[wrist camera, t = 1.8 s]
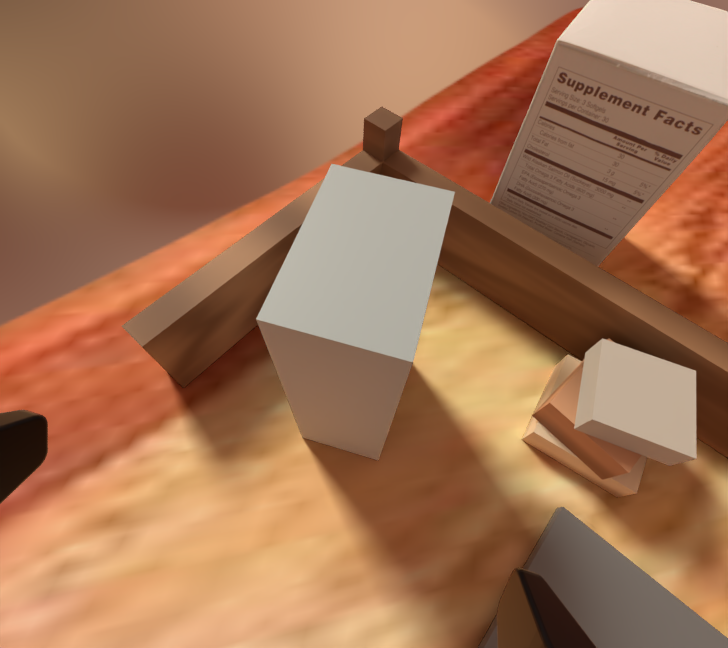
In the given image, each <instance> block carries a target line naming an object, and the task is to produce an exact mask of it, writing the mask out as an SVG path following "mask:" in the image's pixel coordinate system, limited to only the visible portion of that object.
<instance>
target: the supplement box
mask: <svg viewBox="0 0 728 648" xmlns="http://www.w3.org/2000/svg"><path fill="white" fill-rule="evenodd" d="M727 120H728V11H724V10H721V9H718V8H714V7H711V6H707V5H704V4H700V3H697V2H693V1H690V0H590V1H589V2H588V3H587V5H586V6H585V7H584V8H583V9H582V10H581V12H580V13H579V14H578V15H577V16H576V18H575V19H574V20H573V21H572V22H571V24H570V25H569V26H568V27H567V29H566V30H565V31H564V32H563V33H562V35H561V36H560V37H559V38H558V39H557V41H556V43H555V46H554V49H553V51H552V54H551V56H550V58H549V61H548V63H547V66H546V68H545V71H544V73H543V75H542V78H541V80H540V83H539V85H538V88H537V90H536V93H535V95H534V97H533V100H532V102H531V105H530V107H529V110H528V112H527V114H526V117H525V119H524V121H523V124H522V126H521V129H520V131H519V133H518V136H517V138H516V140H515V143H514V145H513V148H512V150H511V152H510V155H509V157H508V160H507V162H506V165H505V167H504V170H503V172H502V175H501V177H500V180H499V182H498V184H497V187H496V189H495V192H494V194H493V197H492V199H491V202H490V204H492V205H494V206H495V207H497V208H499V209H500V210H502V211H504V212H506V213H507V214H509V215H511V216H512V217H514V218H516V219H517V220H519V221H521V222H523V223H524V224H526V225H528V226H529V227H531V228H533V229H534V230H536V231H538V232H540V233H541V234H543V235H545V236H546V237H548V238H550V239H552V240H553V241H555V242H557V243H558V244H560V245H562V246H563V247H565V248H567V249H569V250H570V251H572V252H574V253H575V254H577V255H579V256H580V257H582V258H584V259H586V260H587V261H589V262H591V263H592V264H594V265H596V266H597V267H598V266H599V265H600V264H601V263H602V261H603V260H604V259H605V258H606V257H607V256H608V255H609V254H610V252H611V251H612V250H613V249H614V248H615V247H616V246H617V245H618V243H619V242H620V241H621V240H622V239H623V238H624V237H625V236H626V235H627V233H628V232H629V231H630V230H631V229H632V228H633V227H634V226H635V225H636V223H637V222H638V221H639V220H640V219H641V218H642V217H643V216H644V214H645V213H646V212H647V211H648V210H649V209H650V208H651V207H652V205H653V204H654V203H655V202H656V201H657V200H658V199H659V198H660V197H661V195H662V194H663V193H664V192H665V191H666V190H667V189H668V188H669V187H670V185H671V184H672V183H673V182H674V181H675V180H676V179H677V178H678V177H679V175H680V174H681V173H682V172H683V171H684V170H685V169H686V167H687V166H688V165H689V164H690V163H691V162H692V161H693V160H694V158H695V157H696V156H697V155H698V154H699V153H700V152H701V151H702V149H703V148H704V147H705V146H706V145H707V144H708V143H709V141H710V140H711V139H712V138H713V137H714V136H715V134H716V133H717V132H718V131H719V130H720V128H721V127H722V126H723V125H724V124H725V123H726V121H727Z"/></svg>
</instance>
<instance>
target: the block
mask: <svg viewBox="0 0 728 648" xmlns="http://www.w3.org/2000/svg"><path fill="white" fill-rule="evenodd" d="M454 194H455V192H454V191H449V190H445V189H440V188H436V187H432V186H427V185H423V184H418V183H414V182H410V181H405V180H401V179H396V178H392V177H387V176H383V175H379V174H374V173H370V172H365V171H361V170H357V169H352V168H348V167H343V166H339V165H335V164H331V166H330V168H329V171H328V173H327V175H326V177H325V179H324V181H323V183H322V185H321V187H320V189H319V191H318V193H317V195H316V197H315V199H314V201H313V203H312V205H311V207H310V210H309V212H308V214H307V216H306V218H305V220H304V222H303V224H302V226H301V228H300V230H299V232H298V234H297V236H296V238H295V240H294V242H293V244H292V246H291V248H290V251H289V253H288V255H287V257H286V259H285V261H284V263H283V265H282V267H281V269H280V271H279V273H278V275H277V277H276V279H275V281H274V283H273V285H272V287H271V290H270V292H269V294H268V296H267V298H266V300H265V302H264V304H263V306H262V308H261V310H260V312H259V314H258V316H257V318H256V321H257V323H258V326H259V328H260V331H261V333H262V336H263V338H264V341H265V344H266V346H267V349H268V351H269V354H270V356H271V359H272V361H273V364H274V366H275V369H276V372H277V374H278V377H279V379H280V382H281V384H282V387H283V389H284V392H285V394H286V397H287V400H288V402H289V405H290V407H291V410H292V412H293V415H294V417H295V420H296V423H297V425H298V428H299V430H300V433H301V435H302V438H306V439H309V440H312V441H316V442H319V443H322V444H325V445H329V446H332V447H335V448H339V449H342V450H345V451H349V452H352V453H355V454H358V455H362V456H365V457H368V458H372V459H375V460H379V458H380V455H381V452H382V449H383V446H384V443H385V441H386V438H387V435H388V432H389V429H390V426H391V423H392V421H393V418H394V415H395V412H396V409H397V406H398V404H399V401H400V398H401V395H402V392H403V389H404V386H405V384H406V381H407V378H408V375H409V372H410V369H411V367H412V364H413V360H414V356H415V352H416V348H417V344H418V340H419V336H420V332H421V328H422V324H423V320H424V316H425V312H426V307H427V303H428V299H429V295H430V291H431V287H432V283H433V279H434V275H435V271H436V267H437V263H438V259H439V255H440V251H441V247H442V243H443V238H444V234H445V230H446V226H447V222H448V218H449V214H450V210H451V206H452V202H453V198H454Z"/></svg>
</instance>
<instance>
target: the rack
mask: <svg viewBox="0 0 728 648" xmlns="http://www.w3.org/2000/svg"><path fill="white" fill-rule="evenodd" d="M402 120H403V118H401V117H400V116H398V115H396V114H394V113H392V112H391V111H389V110H387V109H385V108H383V107H380V108H379V109H378V110H376V111H375V112H373V113H372V114H370V115H369V116H367V117H366V118H364V137H363V151H361V152H360V153H358V154H357V155H356V156H354V157H353V158H352V159H350V160H349V161H347V162H346V163H345V164H343V165H342V166H343V167H348V168H352V169H357V170H361V171H365V172H370V173H374V174H379V175H383V176H387V177H392V178H396V179H401V180H405V181H410V182H414V183H418V184H423V185H427V186H432V187H436V188H440V189H445V190H449V191H454V192H455V194H454V198H453V202H452V206H451V210H450V214H449V218H448V222H447V226H446V230H445V234H444V238H443V243H442V247H441V251H440V255H439V259H438V263H437V264H439V265H440V266H442V267H443V268H445V269H446V270H448V271H449V272H451V273H452V274H454V275H455V276H457V277H458V278H460V279H461V280H462V281H464V282H465V283H467V284H468V285H470V286H471V287H473V288H474V289H476V290H477V291H479V292H480V293H482V294H483V295H485V296H486V297H488V298H489V299H491V300H492V301H494V302H495V303H497V304H498V305H500V306H501V307H503V308H504V309H506V310H507V311H509V312H510V313H512V314H513V315H515V316H516V317H518V318H519V319H521V320H522V321H524V322H525V323H527V324H528V325H530V326H531V327H533V328H534V329H536V330H537V331H539V332H540V333H542V334H543V335H545V336H546V337H548V338H549V339H551V340H552V341H554V342H555V343H557V344H558V345H560V346H561V347H562V348H564V349H565V350H567V351H568V352H570V353H571V354H573V355H574V356H576V357H577V358H579V359H580V360H582V361H583V360H584V358H585V353H586V352H587V351H588V350H589V349H590V348H592V347H593V346H594V345H595V344H596V343H598V342H599V341H600V340H601V339H602V338H603V339H606V340H607V339H608V338H609V339H611V340H612V341H613V342H615V343H617V344H620V345H623V346H626V347H629V348H632V349H634V350H637V351H640V352H643V353H646V354H649V355H652V356H655V357H658V358H660V359H663V360H666V361H669V362H672V363H675V364H678V365H681V366H683V367H686V368H689V369H692V370H695V371H696V437H697V438H698V439H700V440H701V441H703V442H704V443H706V444H707V445H709V446H710V447H712V448H713V449H715V450H716V451H718V452H719V453H721V454H722V455H724V456H725V457H727V458H728V343H727V342H725V341H723V340H722V339H720V338H718V337H717V336H715V335H713V334H712V333H710V332H708V331H706V330H705V329H703V328H701V327H700V326H698V325H696V324H695V323H693V322H691V321H689V320H688V319H686V318H684V317H683V316H681V315H679V314H677V313H676V312H674V311H672V310H671V309H669V308H667V307H666V306H664V305H662V304H660V303H659V302H657V301H655V300H654V299H652V298H650V297H649V296H647V295H645V294H643V293H642V292H640V291H638V290H637V289H635V288H633V287H632V286H630V285H628V284H626V283H625V282H623V281H621V280H620V279H618V278H616V277H615V276H613V275H611V274H609V273H608V272H606V271H604V270H603V269H601V268H599V267H597V266H596V265H594V264H592V263H591V262H589V261H587V260H586V259H584V258H582V257H580V256H579V255H577V254H575V253H574V252H572V251H570V250H569V249H567V248H565V247H563V246H562V245H560V244H558V243H557V242H555V241H553V240H552V239H550V238H548V237H546V236H545V235H543V234H541V233H540V232H538V231H536V230H534V229H533V228H531V227H529V226H528V225H526V224H524V223H523V222H521V221H519V220H517V219H516V218H514V217H512V216H511V215H509V214H507V213H506V212H504V211H502V210H500V209H499V208H497V207H495V206H494V205H492V204H490V203H489V202H487V201H485V200H483V199H482V198H480V197H478V196H477V195H475V194H473V193H471V192H470V191H468V190H466V189H465V188H463V187H461V186H460V185H458V184H456V183H454V182H453V181H451V180H449V179H448V178H446V177H444V176H443V175H441V174H439V173H437V172H436V171H434V170H432V169H431V168H429V167H427V166H426V165H424V164H422V163H420V162H419V161H417V160H415V159H414V158H412V157H410V156H408V155H407V154H405V153H403V152H402V151H400V150H399V143H400V135H401V127H402ZM324 179H325V178H324ZM324 179H323V180H321V181H320V182H319V183H317V184H316V185H314V186H313V187H312V188H310V189H309V190H308V191H306V192H305V193H304V194H302V195H301V196H299V197H298V198H297V199H295V200H294V201H293V202H291V203H290V204H288V205H287V206H286V207H284V208H283V209H282V210H280V211H279V212H277V213H276V214H275V215H273V216H272V217H271V218H269V219H268V220H266V221H265V222H264V223H262V224H261V225H260V226H258V227H257V228H255V229H254V230H253V231H251V232H250V233H249V234H247V235H246V236H244V237H243V238H242V239H240V240H239V241H238V242H236V243H235V244H234V245H232V246H231V247H229V248H228V249H227V250H225V251H224V252H223V253H221V254H220V255H218V256H217V257H216V258H214V259H213V260H212V261H210V262H209V263H207V264H206V265H205V266H203V267H202V268H201V269H199V270H198V271H196V272H195V273H194V274H192V275H191V276H190V277H188V278H187V279H185V280H184V281H183V282H181V283H180V284H179V285H177V286H176V287H175V288H173V289H172V290H170V291H169V292H168V293H166V294H165V295H164V296H162V297H161V298H159V299H158V300H157V301H155V302H154V303H153V304H151V305H150V306H148V307H147V308H146V309H144V310H143V311H142V312H140V313H139V314H137V315H136V316H135V317H133V318H132V319H131V320H129V321H128V322H126V323H125V324H124V325H122V327H123V328H124V329H125V330H126V331H127V332H128V333H129V334H130V335H131V336H132V337H133V338H134V339H135V340H136V341H137V342H138V343H139V344H140V345H141V346H142V347H143V348H144V349H145V350H146V351H147V352H148V353H149V354H150V355H151V356H152V357H153V358H154V359H155V360H156V361H157V362H158V363H159V364H160V365H161V366H162V367H163V368H164V369H165V370H166V371H167V372H168V373H169V374H170V375H171V376H172V377H173V378H174V379H175V380H176V381H177V382H178V383H179V384H180V385H181V386H182V387H183V388H184V387H185V386H187V385H188V384H189V383H190V382H191V381H192V380H194V379H195V378H196V377H197V376H198V375H200V374H201V373H202V372H203V371H204V370H205V369H207V368H208V367H209V366H210V365H211V364H212V363H214V362H215V361H216V360H217V359H218V358H219V357H221V356H222V355H223V354H224V353H225V352H226V351H228V350H229V349H230V348H231V347H232V346H233V345H235V344H236V343H237V342H238V341H239V340H240V339H242V338H243V337H244V336H245V335H246V334H248V333H249V332H250V331H251V330H252V329H253V328H255V327H256V326H257V325H258V323H257V321H256V318H257V316H258V314H259V312H260V310H261V308H262V306H263V304H264V302H265V300H266V298H267V296H268V294H269V292H270V290H271V287H272V285H273V283H274V281H275V279H276V277H277V275H278V273H279V271H280V269H281V267H282V265H283V263H284V261H285V259H286V257H287V255H288V253H289V251H290V248H291V246H292V244H293V242H294V240H295V238H296V236H297V234H298V232H299V230H300V228H301V226H302V224H303V222H304V220H305V218H306V216H307V214H308V212H309V210H310V207H311V205H312V203H313V201H314V199H315V197H316V195H317V193H318V191H319V189H320V187H321V185H322V183H323V181H324Z"/></svg>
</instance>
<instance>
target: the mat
mask: <svg viewBox="0 0 728 648" xmlns="http://www.w3.org/2000/svg"><path fill="white" fill-rule="evenodd" d="M523 569H525V570H528V571H531V572H534V573H537V574H539V575H541V576H542V577H543V578H544V579H545V580H546V582H547V583H548V584H549V586H550V587H551V588H552V590H553V591H554V592H555V594H556V595H557V596H558V597H559V599H560V600H561V601H562V603H563V604H564V605H565V607H566V608H567V609H568V610H569V612H570V613H571V614H572V616H573V617H574V618H575V620H576V621H577V622H578V624H579V625H580V626H581V627H582V629H583V630H584V631H585V633H586V634H587V635H588V637H589V638H590V639H591V641H592V642H593V643H594V644H595V646H596V647H597V648H728V638H727V637H725V636H724V635H723V634H722V633H720V632H719V631H718V630H717V629H715V628H714V627H713V626H712V625H710V624H709V623H708V622H707V621H705V620H704V619H703V618H701V617H700V616H699V615H698V614H696V613H695V612H694V611H693V610H691V609H690V608H689V607H688V606H686V605H685V604H684V603H683V602H681V601H680V600H679V599H678V598H676V597H675V596H674V595H673V594H671V593H670V592H669V591H668V590H666V589H665V588H664V587H663V586H661V585H660V584H659V583H658V582H656V581H655V580H654V579H653V578H651V577H650V576H649V575H648V574H646V573H645V572H644V571H643V570H641V569H640V568H639V567H638V566H636V565H635V564H634V563H633V562H631V561H630V560H629V559H628V558H626V557H625V556H624V555H623V554H621V553H620V552H619V551H618V550H616V549H615V548H614V547H613V546H611V545H610V544H609V543H608V542H606V541H605V540H604V539H603V538H601V537H600V536H599V535H598V534H596V533H595V532H594V531H593V530H591V529H590V528H589V527H588V526H586V525H585V524H584V523H583V522H581V521H580V520H579V519H578V518H576V517H575V516H574V515H573V514H571V513H570V512H569V511H568V510H566V509H565V508H564V507H559V508H557V509H556V511H555V513H554V514H553V516H552V518H551V520H550V521H549V523H548V525H547V527H546V528H545V530H544V532H543V534H542V535H541V537H540V539H539V541H538V543H537V544H536V546H535V548H534V550H533V551H532V553H531V555H530V557H529V558H528V560H527V562H526V564H525V565H524V567H523ZM478 648H498V634H497V615H496V617H495V618H494V620H493V622H492V624H491V625H490V627H489V629H488V631H487V632H486V634H485V636H484V638H483V640H482V641H481V643H480V645H479V647H478Z"/></svg>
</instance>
